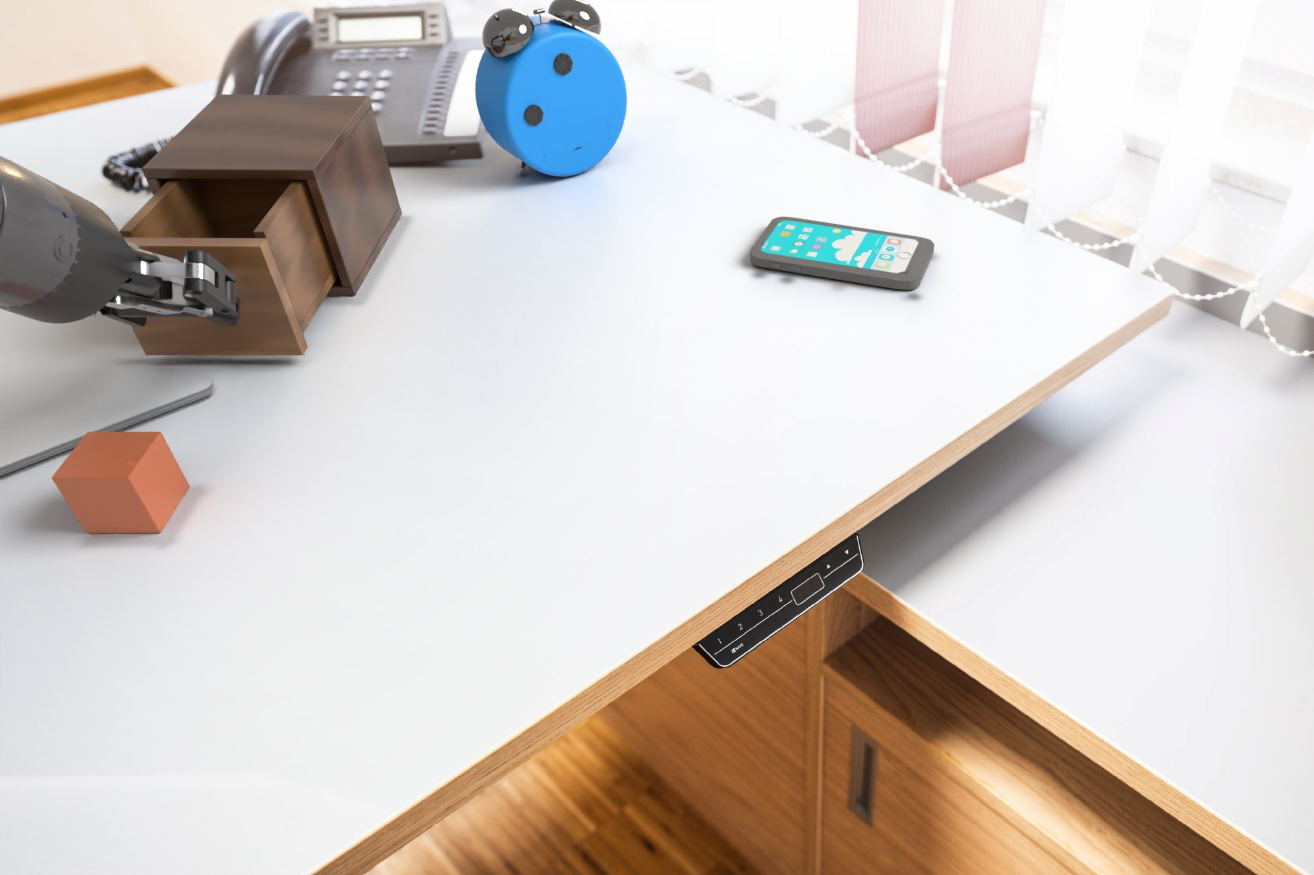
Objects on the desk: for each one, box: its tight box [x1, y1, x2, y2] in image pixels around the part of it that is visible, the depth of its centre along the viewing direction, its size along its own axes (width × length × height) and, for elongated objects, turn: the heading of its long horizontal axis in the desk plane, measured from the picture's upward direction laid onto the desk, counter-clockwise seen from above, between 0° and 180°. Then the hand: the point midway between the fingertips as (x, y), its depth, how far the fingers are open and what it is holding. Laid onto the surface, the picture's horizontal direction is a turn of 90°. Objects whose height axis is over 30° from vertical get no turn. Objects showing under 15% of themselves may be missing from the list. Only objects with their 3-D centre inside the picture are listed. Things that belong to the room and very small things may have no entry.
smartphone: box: [749, 216, 935, 291], centre depth 91 cm, size 9×1×15 cm
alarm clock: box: [474, 0, 628, 177], centre depth 98 cm, size 13×6×15 cm, turn 131°
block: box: [51, 431, 190, 534], centre depth 65 cm, size 4×4×4 cm
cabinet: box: [141, 93, 403, 297], centre depth 87 cm, size 15×13×11 cm
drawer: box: [113, 179, 339, 357], centre depth 77 cm, size 18×11×9 cm, turn 2°
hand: (185, 311), depth 72 cm, fingers closed on drawer, 5 cm apart
